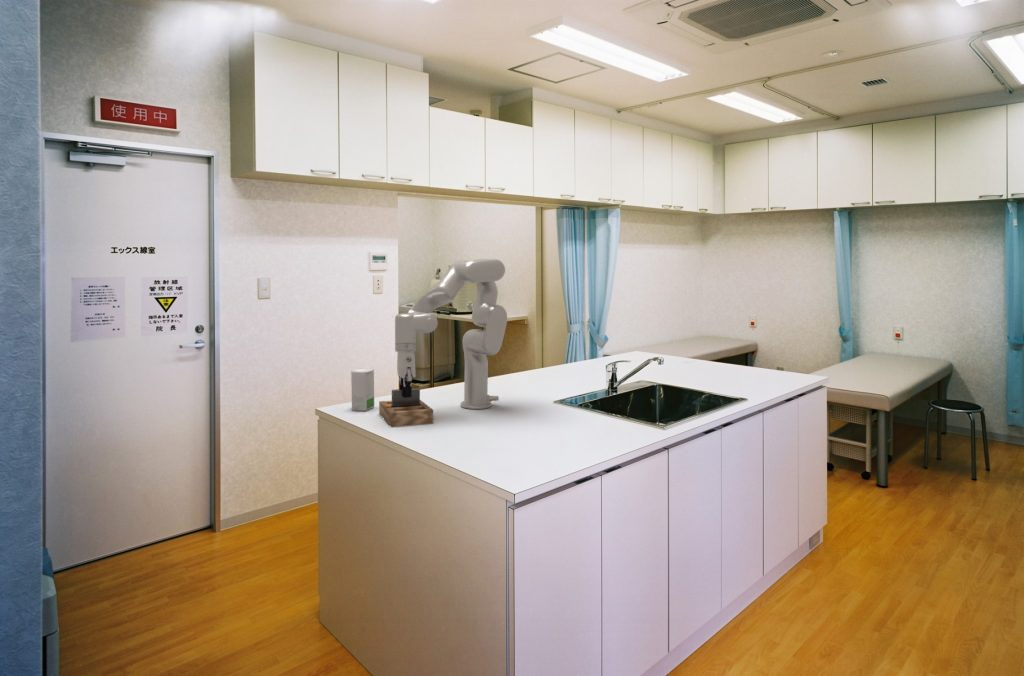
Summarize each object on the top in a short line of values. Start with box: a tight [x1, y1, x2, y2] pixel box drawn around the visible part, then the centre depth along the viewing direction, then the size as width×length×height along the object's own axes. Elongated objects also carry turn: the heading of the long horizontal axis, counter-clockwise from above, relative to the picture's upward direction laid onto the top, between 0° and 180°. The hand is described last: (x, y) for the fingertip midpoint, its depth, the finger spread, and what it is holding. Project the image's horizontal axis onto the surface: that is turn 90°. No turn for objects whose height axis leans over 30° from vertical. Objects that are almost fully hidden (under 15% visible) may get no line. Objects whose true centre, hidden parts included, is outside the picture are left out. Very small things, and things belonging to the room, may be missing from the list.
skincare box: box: [350, 368, 375, 412], centre depth 242 cm, size 8×7×16 cm
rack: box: [378, 399, 434, 428], centre depth 228 cm, size 16×20×6 cm
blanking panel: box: [391, 387, 421, 408], centre depth 227 cm, size 10×2×9 cm, turn 113°
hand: (405, 395), depth 227 cm, fingers open, 3 cm apart
